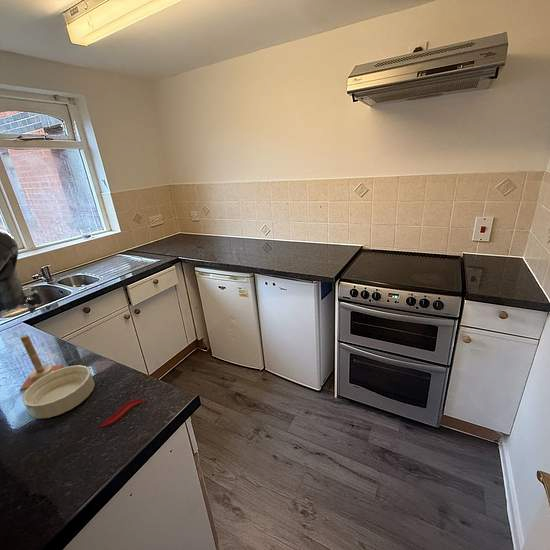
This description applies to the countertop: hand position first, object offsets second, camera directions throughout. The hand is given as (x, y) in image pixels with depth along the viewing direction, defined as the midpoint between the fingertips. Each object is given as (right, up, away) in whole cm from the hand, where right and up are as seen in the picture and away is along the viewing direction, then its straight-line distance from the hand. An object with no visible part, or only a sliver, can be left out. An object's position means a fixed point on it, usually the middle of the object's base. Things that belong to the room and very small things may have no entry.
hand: (13, 316), depth 88 cm
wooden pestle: (+2, -20, +8) cm, 22 cm away
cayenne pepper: (+37, -24, -9) cm, 46 cm away
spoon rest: (+2, -21, +8) cm, 23 cm away
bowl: (+16, -23, -2) cm, 28 cm away
